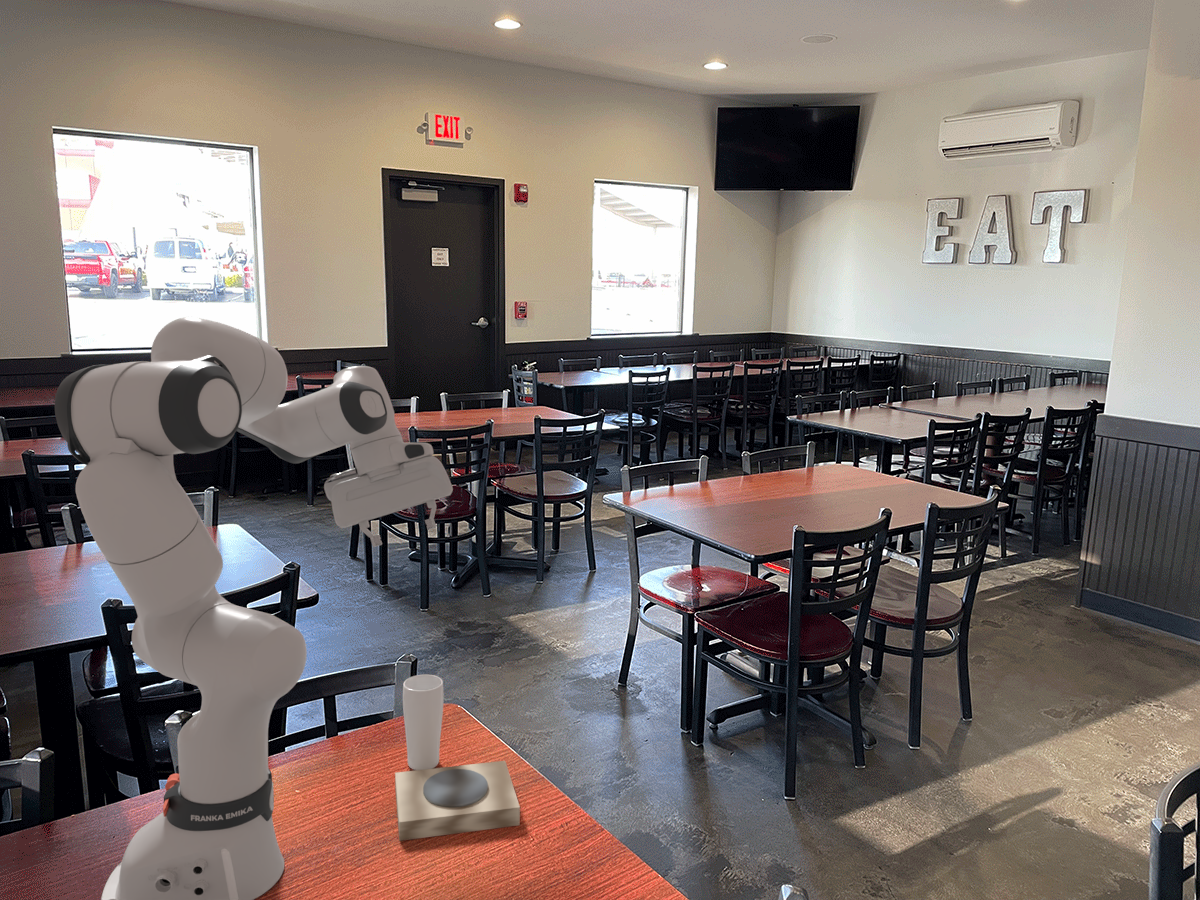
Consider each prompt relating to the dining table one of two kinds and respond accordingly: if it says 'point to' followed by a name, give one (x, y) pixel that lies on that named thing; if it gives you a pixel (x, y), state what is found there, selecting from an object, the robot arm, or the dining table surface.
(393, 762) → the dining table surface
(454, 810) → the block
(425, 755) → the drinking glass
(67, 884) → the dining table surface
